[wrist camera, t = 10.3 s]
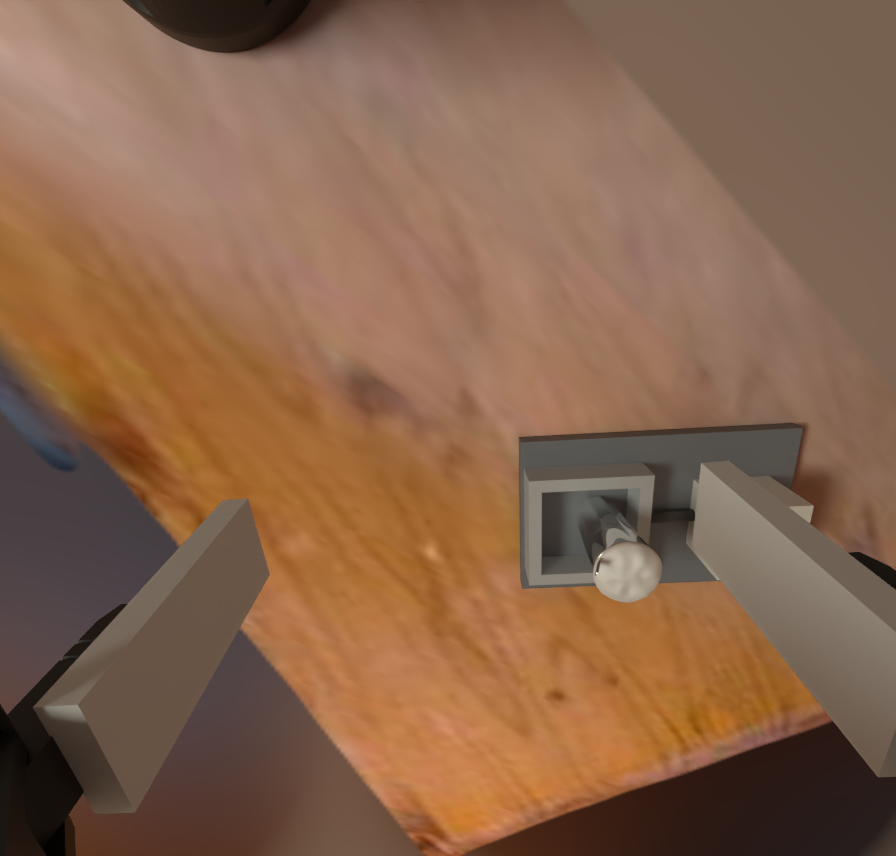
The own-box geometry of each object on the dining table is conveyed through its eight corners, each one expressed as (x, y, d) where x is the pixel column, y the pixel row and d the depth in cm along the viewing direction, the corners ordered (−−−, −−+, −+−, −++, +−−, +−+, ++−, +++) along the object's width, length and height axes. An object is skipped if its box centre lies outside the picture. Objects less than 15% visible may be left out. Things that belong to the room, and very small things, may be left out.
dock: (518, 437, 38) (530, 467, 32) (792, 423, 37) (855, 451, 31) (520, 580, 43) (530, 629, 37) (764, 570, 42) (815, 619, 36)
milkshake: (577, 475, 38) (616, 545, 28) (632, 502, 38) (689, 578, 29) (548, 519, 39) (577, 599, 30) (602, 544, 40) (647, 630, 30)
